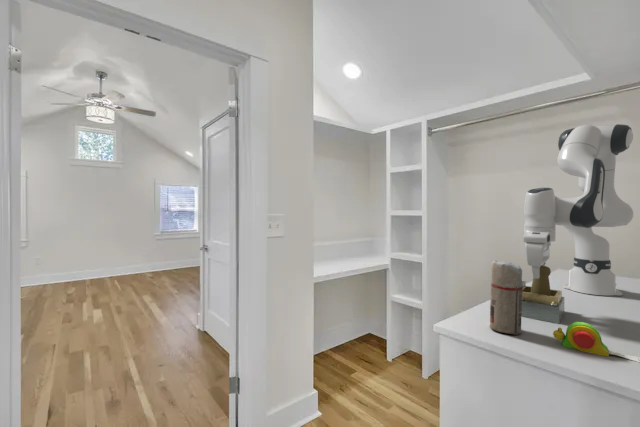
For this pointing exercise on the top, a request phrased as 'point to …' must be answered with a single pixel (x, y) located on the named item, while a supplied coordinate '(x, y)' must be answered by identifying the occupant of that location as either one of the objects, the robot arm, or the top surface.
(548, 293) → the cork
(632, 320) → the top surface
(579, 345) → the toy measuring tape
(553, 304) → the grey wooden box
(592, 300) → the top surface
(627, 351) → the top surface
